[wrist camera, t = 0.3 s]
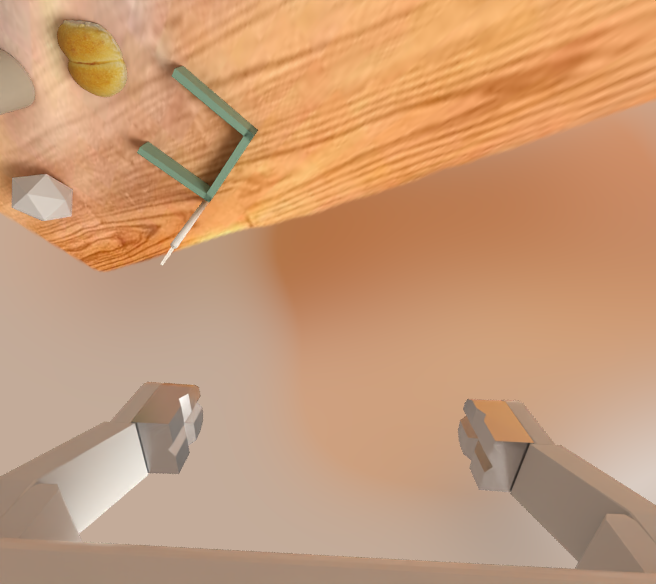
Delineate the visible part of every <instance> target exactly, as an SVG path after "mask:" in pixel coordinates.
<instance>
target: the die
mask: <svg viewBox="0 0 656 584" xmlns="http://www.w3.org/2000/svg"><path fill="white" fill-rule="evenodd" d="M72 194H73V189H71V188H69V187H68V186H66V185H64V184H63V183H61V182H59V181H57V180H56V179H54V178H52V177H51V176H49V175H47V174H41V175H32V176H24V177H15V178H12V208H14V209H16V210H18V211H21V212H23V213H25V214H28V215H30V216H32V217H34V218H37V219H39V220H41V221H47V220H53V219H58V218H64V217H70V216H72Z"/></svg>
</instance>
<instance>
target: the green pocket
mask: <svg viewBox="0 0 656 584" xmlns="http://www.w3.org/2000/svg"><path fill="white" fill-rule="evenodd" d="M172 77H173V78H175V79H176V80H177V81H178V82H179V83H181V84H182V85H183V86H184V87H185V88H187V89H188V90H189V91H190V92H191V93H193V94H194V95H195V96H196V97H197V98H199V99H200V100H201V101H202V102H203V103H205V104H206V105H207V106H208V107H209V108H211V109H212V110H213V111H214V112H215V113H217V114H218V115H219V116H220V117H221V118H223V119H224V120H225V121H226V122H227V123H229V124H230V125H231V126H232V127H233V128H235V129H236V130H237V131H238V132H239V133H241V134H242V135H243V138H242V140H241V141H240V143H239V144H238V146H237V147H236V149H235V150H234V152H233V153H232V155H231V157H230V158H229V160H228V161H227V163H226V164H225V166H224V167H223V169H222V170H221V172H220V173H219V175H218V177H217V178H216V180H215V181H214V183H213V184H212V186H209V185H208V184H206V183H205V182H204V181H202V180H201V179H199V178H198V177H197V176H195V175H194V174H193V173H191V172H190V171H188V170H187V169H186V168H184V167H183V166H181V165H180V164H179V163H177V162H176V161H174V160H173V159H172V158H170V157H169V156H167V155H166V154H165V153H163V152H162V151H160V150H159V149H158V148H156V147H155V146H153V145H152V144H151V143H149V142H147V143H145V144H144V145H142V146H141V147H140V148H139V150H138V152H137V153H138V154H140V155H141V156H142V157H144V158H145V159H147V160H148V161H150V162H151V163H153V164H154V165H155V166H157V167H158V168H160V169H161V170H163V171H164V172H166V173H167V174H168V175H170V176H171V177H173V178H174V179H176V180H177V181H179V182H180V183H181V184H183V185H184V186H186V187H187V188H189V189H190V190H192V191H193V192H194V193H196V194H197V195H199V196H200V197H202V198H203V199H204V200H203V201H202V203H201V204H200V205H199V207H198V208H197V209H196V211H195V212H194V213H193V215H192V216H191V218H190V219H189V220H188V222H187V223H186V224H185V226H184V227H183V228H182V230H181V231H180V232H179V234H178V235H177V236H176V238H175V239H174V240H173V242H172V243H171V248H170V250H169V251H168V253H167V255H166V256H165V258H164V259H163V261H162V262H161V265H163V264H164V263H165V261H166V260H167V259H168V257H169V256H170V254H171V253H172V251H173V250H174V249H175V248H177V247H178V245H179V244H180V243H181V241H182V240H183V238H184V237H185V236H186V234H187V233H188V231H189V230H190V228H191V227H192V226H193V224H194V223H195V221H196V220H197V219H198V217H199V216H200V214H201V213H202V212H203V210H204V209H205V207H206V206H207V204H208V203H209V202H210V201H211V199H212V198H213V197H214V195H215V194H216V192H217V191H218V189H219V188H220V186H221V185H222V183H223V182H224V180H225V179H226V177H227V176H228V174H229V173H230V171H231V170H232V168H233V167H234V165H235V164H236V162H237V161H238V159H239V158H240V156H241V155H242V153H243V152H244V150H245V149H246V147H247V146H248V144H249V143H250V141H251V140H252V138H253V137H254V135H255V134H256V132H257V131H258V130H257V129H256V128H255V127H254V126H252V125H251V124H250V123H249V122H248V121H247V120H245V119H244V118H243V117H242V116H241V115H240V114H239V113H237V112H236V111H235V110H234V109H233V108H232V107H230V106H229V105H228V104H227V103H226V102H225V101H223V100H222V99H221V98H220V97H219V96H218V95H216V94H215V93H214V92H213V91H212V90H211V89H209V88H208V87H207V86H206V85H205V84H204V83H202V82H201V81H200V80H199V79H198V78H197V77H195V76H194V75H193V74H192V73H191V72H190V71H188V70H187V69H186V68H185V67H184V66H181V67H178V68H175V70H174V72H173V74H172Z"/></svg>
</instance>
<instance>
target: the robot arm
mask: <svg viewBox="0 0 656 584" xmlns="http://www.w3.org/2000/svg"><path fill="white" fill-rule="evenodd" d="M199 398H200V391H199V387H198V386H196V385H187V384H172V383H156V382H147V383H145V384H143V385H142V386H141V387H140V388H139V389H138V390H137V392H136V393H135V394H134V395H133V396H132V397H131V398H130V400H129V401H128V402H127V403H126V404H125V405H124V406H123V408H122V409H121V410H120V411H119V412H118V413H117V414H116V416H115V417H114V418H113V419H112V420H111V421H110V422H103V423H101V424H99V425H97V426H96V427H93V428H92V429H90V430H88V431H86V432H84V433H82V434H80V435H78V436H76V437H74V438H73V439H71V440H69V441H67V442H65V443H63V444H61V445H59V446H57V447H56V448H53V449H52V450H50V451H48V452H46V453H44V454H42V455H40V456H38V457H36V458H34V459H33V460H31V461H29V462H27V463H25V464H23V465H21V466H19V467H17V468H16V469H14V470H12V471H10V472H8V473H6V474H4V475H2V476H0V584H656V505H654V504H653V503H652V502H650V501H648V500H647V499H645V498H644V497H642V496H640V495H639V494H637V493H636V492H634V491H633V490H631V489H629V488H628V487H626V486H624V485H623V484H622V483H620V482H618V481H617V480H615V479H614V478H612V477H611V476H609V475H607V474H606V473H604V472H603V471H601V470H599V469H598V468H596V467H595V466H593V465H592V464H590V463H588V462H587V461H585V460H584V459H582V458H581V457H579V456H577V455H576V454H574V453H573V452H571V451H569V450H568V449H566V448H565V447H563V446H562V445H555V444H554V442H553V441H552V440H551V439H550V437H549V436H548V435H547V433H546V432H545V431H544V429H543V428H542V427H541V426H540V424H539V423H538V422H537V420H536V419H535V418H534V416H533V415H532V414H531V413H530V411H529V410H528V409H527V407H526V406H525V405H524V404H523V403H522V402H520V401H518V400H515V401H514V400H481V399H467V401H466V402H465V405H464V408H463V410H464V412H465V414H466V416H465V417H464V418H463V419H461V420H460V424H459V428H458V435H459V442H460V446H461V449H462V451H463V454H464V455H466V456H467V457H468V458H469V459H470V460H471V464H470V470H471V472H472V474H473V477H474V479H475V481H476V484H477V486H478V488H479V490H490V491H502V492H511V493H510V494H511V495H512V496H513V497H514V498H515V499H516V500H517V501H518V502H519V503H520V504H521V505H522V506H523V507H524V508H525V509H526V510H527V511H528V512H529V513H530V514H531V515H532V516H533V517H534V518H535V519H536V520H537V521H538V522H539V523H540V524H541V525H542V526H543V527H544V528H545V529H546V530H547V531H548V532H549V533H550V534H551V535H552V536H553V537H554V538H555V539H556V540H557V541H558V542H559V543H560V544H561V545H562V546H563V547H564V548H565V549H566V550H567V551H568V552H569V553H570V554H571V555H572V556H573V557H574V558H575V559H576V560H577V561H578V564H577V566H576V567H575V569H566V568H549V567H531V566H513V565H494V564H476V563H475V564H474V563H457V562H438V561H420V560H400V559H382V558H365V557H346V556H329V555H311V554H293V553H275V552H274V553H273V552H257V551H239V550H221V549H203V548H185V547H167V546H148V545H130V544H112V543H94V542H82V540H81V537H80V535H79V533H80V532H81V531H83V530H84V529H85V528H86V527H87V526H89V525H90V524H91V523H92V522H93V521H95V520H96V519H97V518H98V517H99V516H100V515H102V514H103V513H104V512H105V511H106V510H107V509H109V508H110V507H111V506H112V505H113V504H115V503H116V502H117V501H118V500H119V499H120V498H121V497H123V496H124V495H125V494H126V493H127V492H129V491H130V490H131V489H132V488H133V487H134V486H136V485H137V484H138V483H139V482H140V481H142V480H143V479H144V478H145V477H146V476H147V475H148V473H169V474H171V473H172V474H179V473H180V471H181V469H182V467H183V465H184V463H185V461H186V459H187V457H188V455H189V448H188V446H189V445H190V444H191V443H193V442H194V441H195V440H196V439H197V437H198V435H199V433H200V430H201V426H202V422H203V410H202V407H201V406H200V405H199V404H198V403H197V401H198V399H199Z"/></svg>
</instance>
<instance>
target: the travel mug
mask: <svg viewBox="0 0 656 584" xmlns="http://www.w3.org/2000/svg"><path fill="white" fill-rule="evenodd" d="M34 99H35V90H34V86H33V83H32V81H31V79H30V77H29V75H28V74H27V72H26V71H25V69H24V68H23V67H22V66H21V65H20V63H19V62H18V61H17V60H15V59H14V58H13V57H12V56H11V55H9V54H8V53H6V52H5V51H3V50H1V49H0V115H2V114H5V113H8V112H12V111H15V110H19V109H22V108H25V107H28V106H30V105H31V104H32V103H33V101H34Z"/></svg>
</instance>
